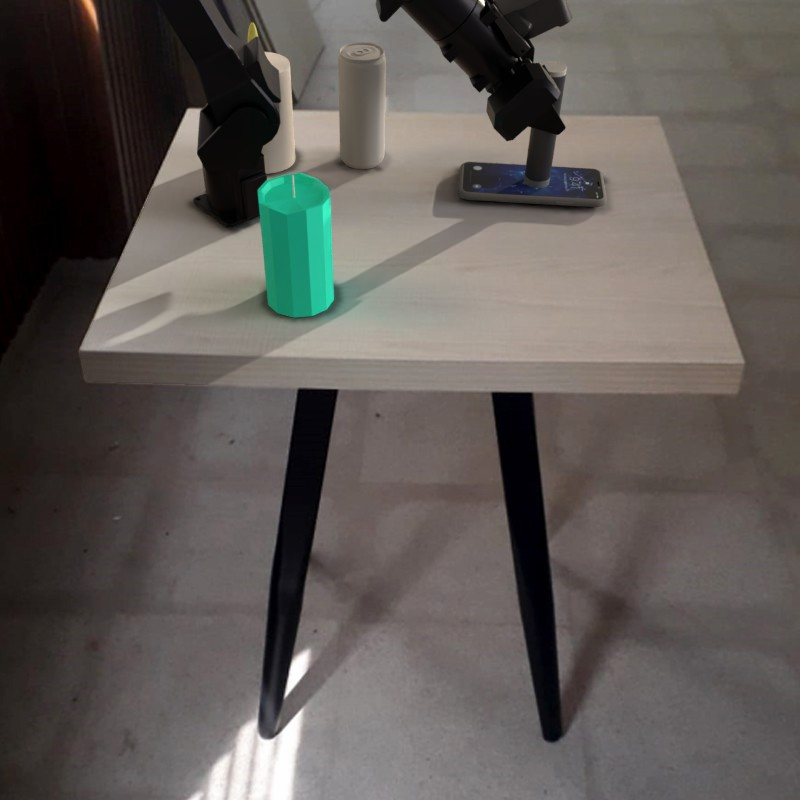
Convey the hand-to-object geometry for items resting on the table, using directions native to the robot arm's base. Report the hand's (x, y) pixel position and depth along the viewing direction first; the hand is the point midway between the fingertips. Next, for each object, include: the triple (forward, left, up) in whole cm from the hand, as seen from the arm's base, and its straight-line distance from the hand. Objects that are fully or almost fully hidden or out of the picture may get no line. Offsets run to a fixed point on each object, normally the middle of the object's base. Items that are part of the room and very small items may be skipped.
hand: (558, 124), depth 94 cm
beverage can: (-18, -10, -8) cm, 22 cm away
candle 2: (-2, -31, -8) cm, 32 cm away
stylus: (-1, -1, -7) cm, 7 cm away
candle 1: (-24, -18, -8) cm, 31 cm away
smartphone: (-1, -1, -7) cm, 8 cm away
